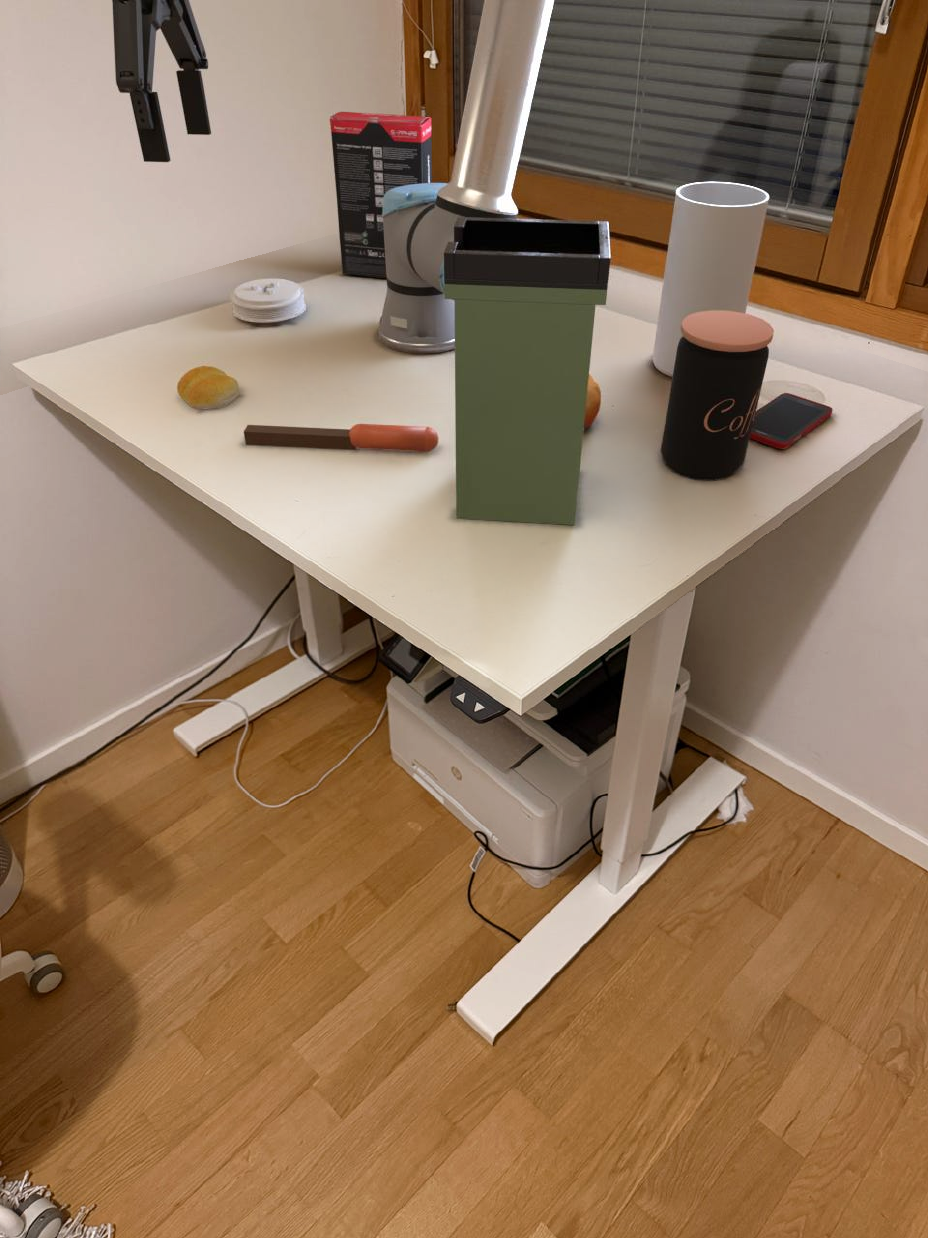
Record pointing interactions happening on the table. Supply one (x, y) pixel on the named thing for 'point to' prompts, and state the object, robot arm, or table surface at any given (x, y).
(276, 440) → the brown orange rod
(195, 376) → the bread roll
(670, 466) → the coffee jar
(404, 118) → the graphics card box
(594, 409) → the fruit
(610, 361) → the table surface
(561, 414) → the shelf stand
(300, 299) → the lid
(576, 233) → the black rectangular open tray
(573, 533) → the table surface
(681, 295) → the cylinder vase
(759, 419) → the cell phone
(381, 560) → the table surface
